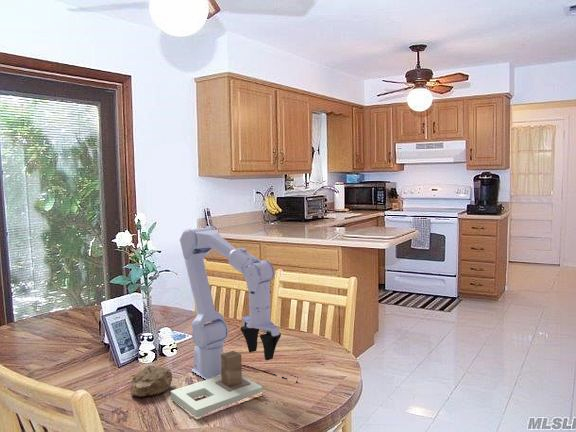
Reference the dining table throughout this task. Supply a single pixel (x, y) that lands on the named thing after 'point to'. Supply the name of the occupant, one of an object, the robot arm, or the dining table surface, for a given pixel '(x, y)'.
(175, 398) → the board
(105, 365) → the dining table surface
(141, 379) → the rock
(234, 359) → the block
